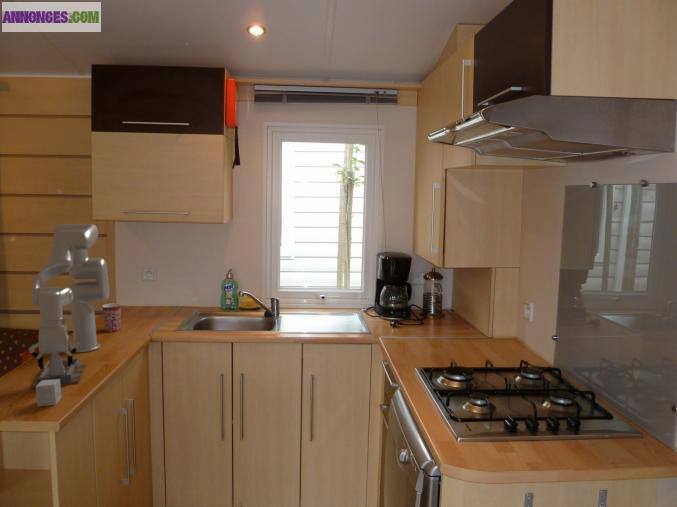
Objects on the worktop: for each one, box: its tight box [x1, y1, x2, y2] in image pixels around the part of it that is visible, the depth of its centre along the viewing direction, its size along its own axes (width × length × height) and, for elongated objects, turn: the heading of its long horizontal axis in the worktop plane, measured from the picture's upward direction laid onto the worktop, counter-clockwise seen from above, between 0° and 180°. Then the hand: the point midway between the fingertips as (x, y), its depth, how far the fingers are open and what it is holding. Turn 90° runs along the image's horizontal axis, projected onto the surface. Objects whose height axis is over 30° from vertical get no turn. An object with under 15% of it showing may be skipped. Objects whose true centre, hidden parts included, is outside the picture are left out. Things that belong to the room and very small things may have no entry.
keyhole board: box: [30, 362, 87, 390], centre depth 215 cm, size 22×16×1 cm
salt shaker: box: [48, 352, 65, 377], centre depth 208 cm, size 6×6×13 cm
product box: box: [35, 379, 62, 407], centre depth 189 cm, size 6×6×7 cm
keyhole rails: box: [39, 357, 82, 383], centre depth 215 cm, size 22×12×2 cm, turn 18°
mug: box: [101, 302, 122, 333], centre depth 284 cm, size 13×9×14 cm
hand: (56, 366), depth 208 cm, fingers open, 9 cm apart
